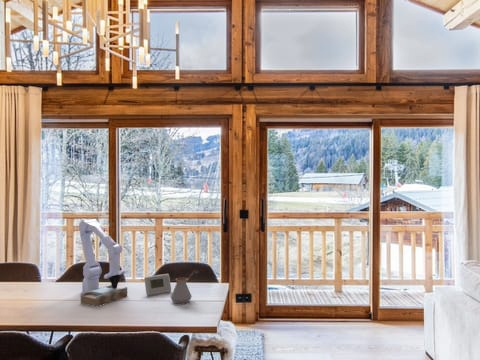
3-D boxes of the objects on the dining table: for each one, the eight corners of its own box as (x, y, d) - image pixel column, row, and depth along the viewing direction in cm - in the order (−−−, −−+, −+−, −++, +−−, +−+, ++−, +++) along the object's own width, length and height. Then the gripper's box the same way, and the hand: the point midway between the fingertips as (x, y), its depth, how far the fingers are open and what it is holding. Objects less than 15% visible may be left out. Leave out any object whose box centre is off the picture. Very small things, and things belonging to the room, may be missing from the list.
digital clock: (145, 296, 228) (145, 278, 228) (142, 292, 236) (142, 275, 236) (173, 293, 235) (173, 275, 235) (169, 289, 243) (169, 272, 243)
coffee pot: (183, 306, 210) (183, 278, 210) (166, 303, 215) (166, 276, 215) (204, 296, 229) (204, 270, 229) (188, 293, 234) (188, 268, 234)
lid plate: (105, 289, 228) (105, 287, 228) (116, 291, 224) (116, 289, 224) (91, 293, 219) (91, 291, 219) (103, 296, 215) (103, 293, 215)
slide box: (111, 293, 235) (111, 284, 235) (127, 296, 229) (127, 287, 229) (80, 303, 215) (80, 293, 215) (97, 306, 209) (97, 296, 209)
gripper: (110, 268, 220) (110, 292, 220) (128, 263, 233) (128, 286, 233) (101, 266, 224) (101, 290, 223) (120, 262, 236) (119, 284, 236)
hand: (114, 288), depth 228 cm, fingers closed
